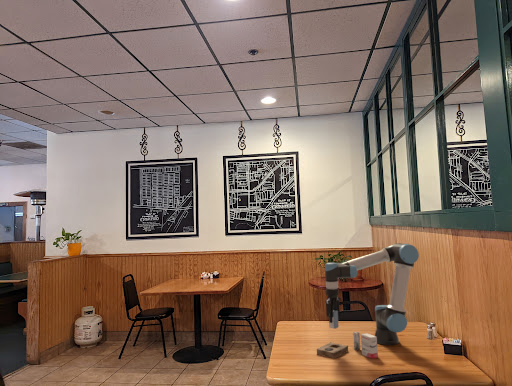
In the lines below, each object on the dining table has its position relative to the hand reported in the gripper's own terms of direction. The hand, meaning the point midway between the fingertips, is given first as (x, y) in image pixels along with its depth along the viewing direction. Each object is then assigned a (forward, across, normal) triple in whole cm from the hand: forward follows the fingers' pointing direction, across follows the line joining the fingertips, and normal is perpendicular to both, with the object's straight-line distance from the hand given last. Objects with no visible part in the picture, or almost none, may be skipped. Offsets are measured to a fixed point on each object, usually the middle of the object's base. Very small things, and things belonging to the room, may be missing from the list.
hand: (333, 326), depth 226 cm
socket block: (+14, +3, 0) cm, 15 cm away
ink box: (+15, -5, +20) cm, 25 cm away
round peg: (+14, -11, +9) cm, 20 cm away
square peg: (0, 0, 0) cm, 0 cm away
